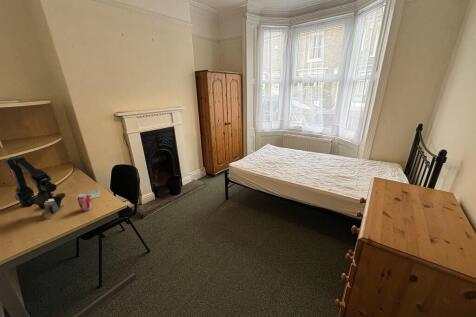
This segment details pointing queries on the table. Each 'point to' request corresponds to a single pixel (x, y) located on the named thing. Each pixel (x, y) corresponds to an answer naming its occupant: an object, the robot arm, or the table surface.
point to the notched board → (48, 214)
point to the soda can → (84, 202)
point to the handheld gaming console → (93, 194)
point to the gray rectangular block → (51, 207)
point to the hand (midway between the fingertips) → (51, 208)
